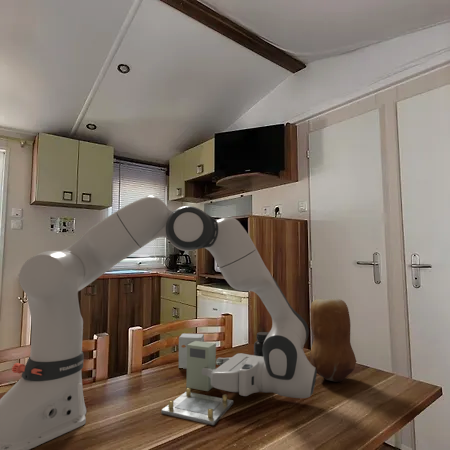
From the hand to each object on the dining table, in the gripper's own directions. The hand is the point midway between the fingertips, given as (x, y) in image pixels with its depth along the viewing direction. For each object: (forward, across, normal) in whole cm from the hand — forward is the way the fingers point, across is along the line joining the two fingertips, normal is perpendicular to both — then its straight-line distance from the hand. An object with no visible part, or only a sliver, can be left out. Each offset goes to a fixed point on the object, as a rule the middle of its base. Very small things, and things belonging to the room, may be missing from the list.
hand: (210, 365), depth 97 cm
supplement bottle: (-10, -21, +6) cm, 24 cm away
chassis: (-3, +13, +6) cm, 15 cm away
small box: (+14, -14, +6) cm, 21 cm away
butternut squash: (-32, -21, +6) cm, 39 cm away
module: (+3, 0, +6) cm, 7 cm away
